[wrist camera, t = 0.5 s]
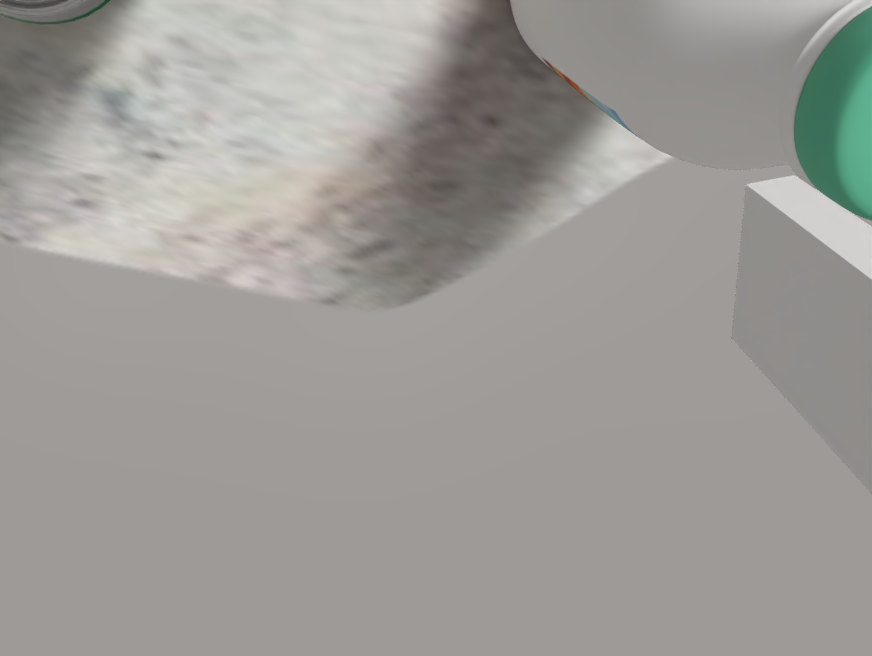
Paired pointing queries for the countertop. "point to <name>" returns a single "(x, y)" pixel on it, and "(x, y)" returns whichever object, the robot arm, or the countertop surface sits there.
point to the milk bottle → (725, 80)
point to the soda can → (49, 10)
